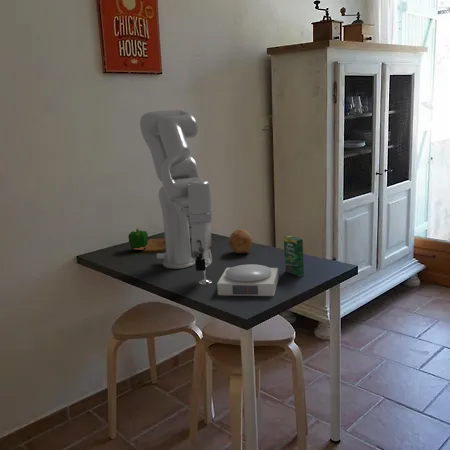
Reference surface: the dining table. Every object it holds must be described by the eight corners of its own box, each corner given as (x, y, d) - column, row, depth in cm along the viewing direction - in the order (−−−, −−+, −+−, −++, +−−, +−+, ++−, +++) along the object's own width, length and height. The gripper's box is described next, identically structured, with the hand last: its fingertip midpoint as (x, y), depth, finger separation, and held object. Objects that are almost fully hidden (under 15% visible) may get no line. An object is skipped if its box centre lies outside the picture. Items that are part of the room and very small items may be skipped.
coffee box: (284, 271, 185) (283, 236, 182) (290, 269, 186) (289, 234, 183) (297, 277, 178) (296, 240, 175) (304, 275, 179) (303, 239, 176)
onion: (258, 252, 209) (257, 229, 207) (238, 258, 204) (237, 233, 201) (244, 248, 217) (243, 225, 214) (224, 253, 211) (223, 229, 209)
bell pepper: (133, 247, 229) (130, 225, 226) (151, 246, 227) (148, 224, 225) (127, 252, 221) (124, 230, 218) (145, 252, 219) (143, 229, 217)
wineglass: (207, 286, 174) (205, 252, 172) (193, 283, 177) (191, 250, 175) (216, 280, 179) (214, 247, 176) (203, 278, 182) (200, 245, 179)
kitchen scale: (217, 295, 165) (216, 279, 164) (227, 278, 181) (226, 263, 179) (273, 296, 161) (273, 280, 160) (278, 278, 177) (277, 263, 176)
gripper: (196, 212, 182) (199, 258, 186) (183, 223, 165) (187, 274, 169) (216, 211, 180) (219, 258, 184) (205, 223, 164) (209, 274, 168)
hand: (204, 266), depth 177 cm, fingers open, 9 cm apart
